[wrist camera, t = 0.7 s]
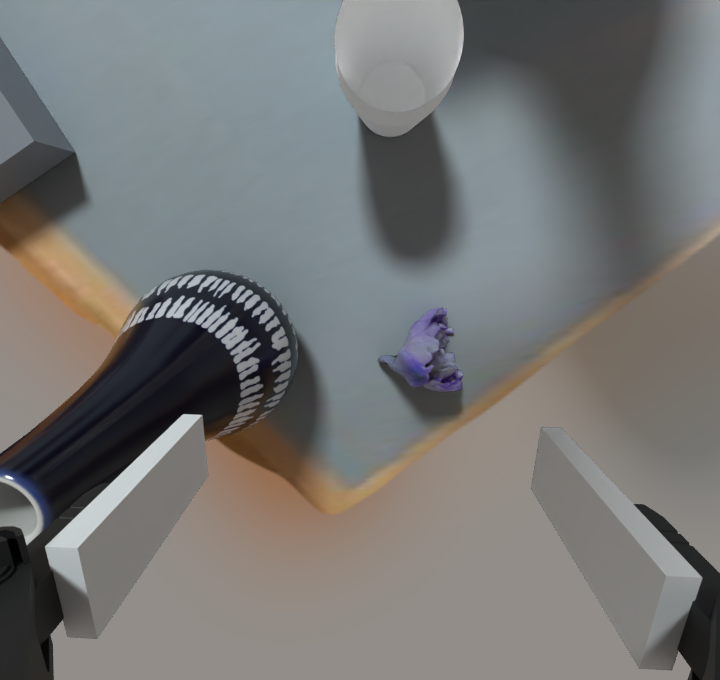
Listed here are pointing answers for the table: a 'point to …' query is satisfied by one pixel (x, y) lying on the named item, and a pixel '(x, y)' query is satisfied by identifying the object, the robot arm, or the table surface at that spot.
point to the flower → (427, 355)
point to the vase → (155, 390)
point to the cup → (397, 59)
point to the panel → (25, 131)
